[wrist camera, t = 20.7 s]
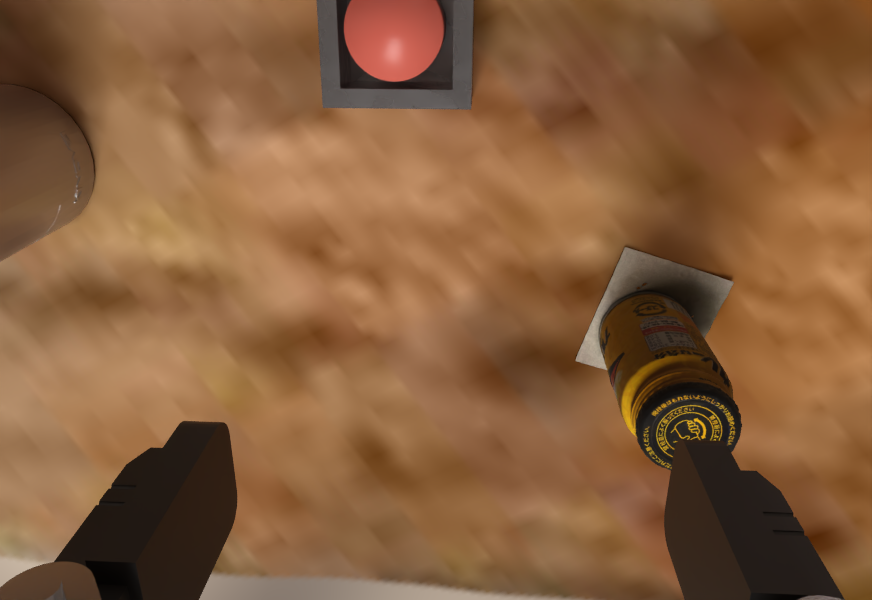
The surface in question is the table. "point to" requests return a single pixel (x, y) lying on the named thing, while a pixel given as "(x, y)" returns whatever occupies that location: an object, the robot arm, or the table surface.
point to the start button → (394, 36)
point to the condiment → (663, 354)
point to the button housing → (428, 90)
